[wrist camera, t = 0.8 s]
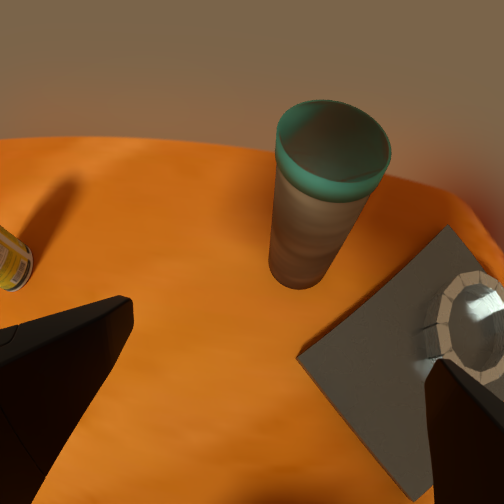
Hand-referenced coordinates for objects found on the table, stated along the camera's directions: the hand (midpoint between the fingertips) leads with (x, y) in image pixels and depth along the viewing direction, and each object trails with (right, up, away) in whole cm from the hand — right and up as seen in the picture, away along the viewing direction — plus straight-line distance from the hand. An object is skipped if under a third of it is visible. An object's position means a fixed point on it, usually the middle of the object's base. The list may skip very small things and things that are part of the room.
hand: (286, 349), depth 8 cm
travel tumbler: (+2, +2, +15) cm, 15 cm away
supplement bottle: (-23, +1, +15) cm, 27 cm away
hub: (+13, -6, +12) cm, 19 cm away
